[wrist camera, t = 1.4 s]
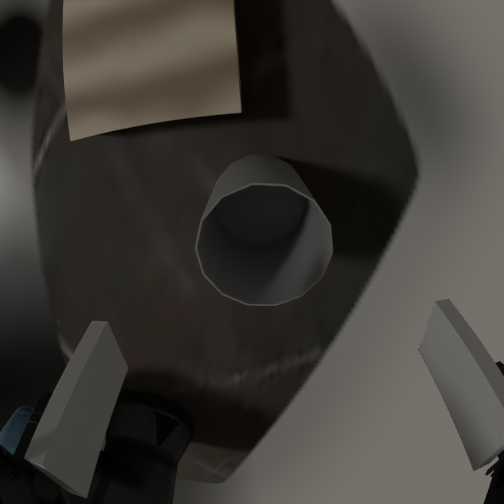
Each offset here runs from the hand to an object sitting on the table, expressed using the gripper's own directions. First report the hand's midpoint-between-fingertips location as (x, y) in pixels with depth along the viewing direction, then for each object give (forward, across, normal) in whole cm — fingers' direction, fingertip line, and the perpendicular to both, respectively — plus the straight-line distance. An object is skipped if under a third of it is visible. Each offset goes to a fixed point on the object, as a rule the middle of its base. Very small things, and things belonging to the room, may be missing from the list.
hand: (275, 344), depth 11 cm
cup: (+18, 0, 0) cm, 18 cm away
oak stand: (+18, +8, -17) cm, 26 cm away
